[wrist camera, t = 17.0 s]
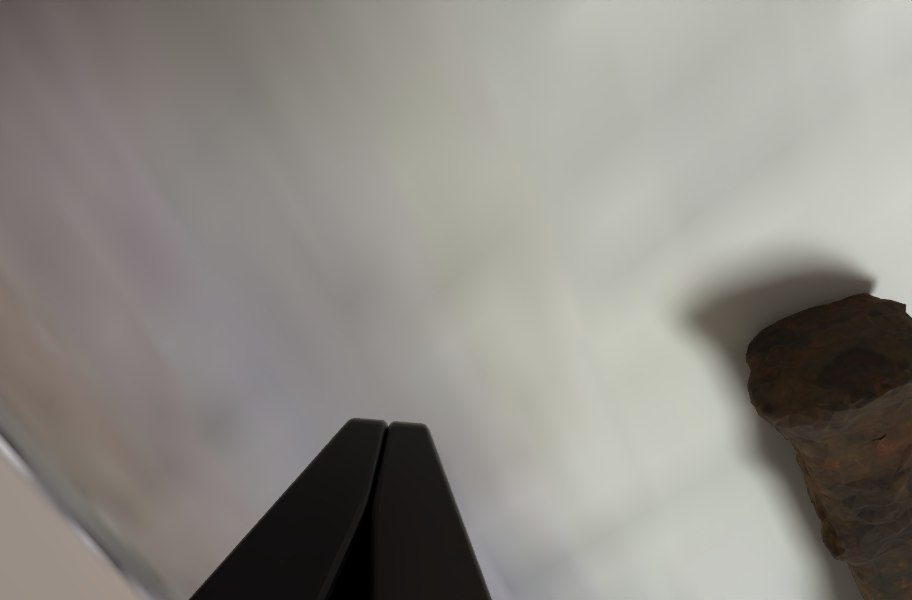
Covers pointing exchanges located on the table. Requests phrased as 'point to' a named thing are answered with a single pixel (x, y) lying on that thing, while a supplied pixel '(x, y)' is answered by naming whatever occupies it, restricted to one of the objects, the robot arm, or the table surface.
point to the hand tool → (848, 428)
